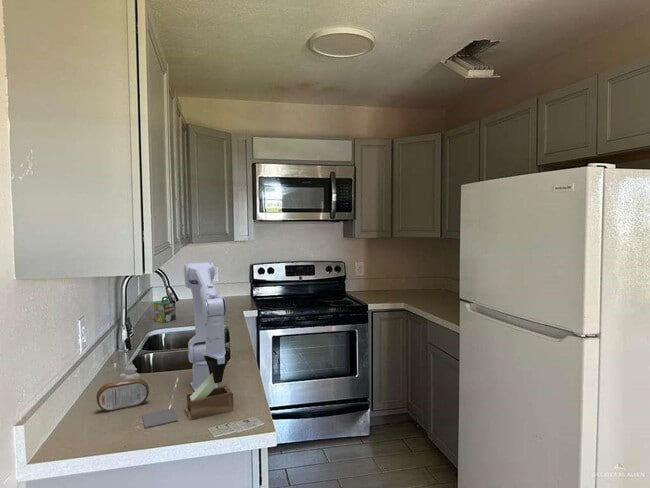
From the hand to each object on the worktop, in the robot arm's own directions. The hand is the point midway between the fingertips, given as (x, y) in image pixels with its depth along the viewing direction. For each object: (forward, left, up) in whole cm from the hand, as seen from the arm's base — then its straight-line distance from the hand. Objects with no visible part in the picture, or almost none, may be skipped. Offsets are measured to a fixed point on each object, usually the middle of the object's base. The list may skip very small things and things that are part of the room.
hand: (216, 380), depth 131 cm
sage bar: (0, -3, -3) cm, 4 cm away
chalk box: (-136, +2, -9) cm, 136 cm away
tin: (-16, -26, -10) cm, 32 cm away
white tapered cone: (-37, -23, -9) cm, 44 cm away
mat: (-2, -17, -9) cm, 19 cm away
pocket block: (0, -3, -9) cm, 9 cm away
